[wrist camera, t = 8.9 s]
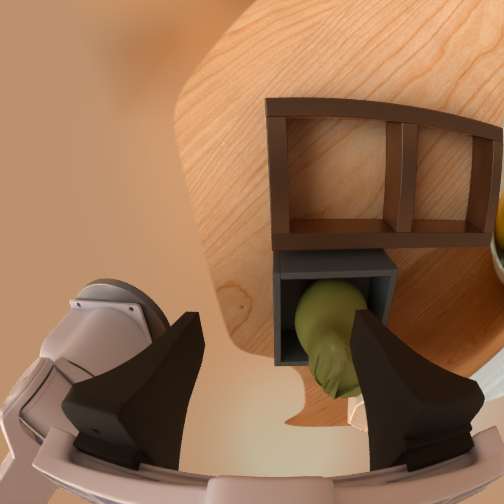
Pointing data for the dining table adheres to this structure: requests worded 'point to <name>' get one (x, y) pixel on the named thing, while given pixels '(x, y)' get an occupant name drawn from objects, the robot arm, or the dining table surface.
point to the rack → (396, 179)
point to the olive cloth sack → (330, 333)
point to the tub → (313, 269)
